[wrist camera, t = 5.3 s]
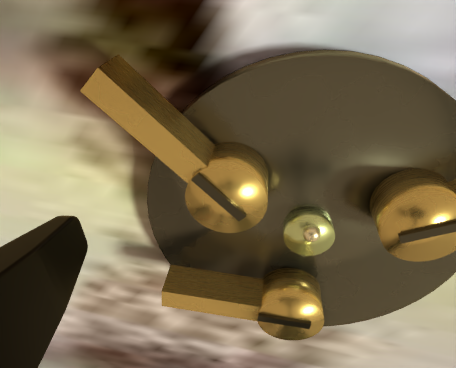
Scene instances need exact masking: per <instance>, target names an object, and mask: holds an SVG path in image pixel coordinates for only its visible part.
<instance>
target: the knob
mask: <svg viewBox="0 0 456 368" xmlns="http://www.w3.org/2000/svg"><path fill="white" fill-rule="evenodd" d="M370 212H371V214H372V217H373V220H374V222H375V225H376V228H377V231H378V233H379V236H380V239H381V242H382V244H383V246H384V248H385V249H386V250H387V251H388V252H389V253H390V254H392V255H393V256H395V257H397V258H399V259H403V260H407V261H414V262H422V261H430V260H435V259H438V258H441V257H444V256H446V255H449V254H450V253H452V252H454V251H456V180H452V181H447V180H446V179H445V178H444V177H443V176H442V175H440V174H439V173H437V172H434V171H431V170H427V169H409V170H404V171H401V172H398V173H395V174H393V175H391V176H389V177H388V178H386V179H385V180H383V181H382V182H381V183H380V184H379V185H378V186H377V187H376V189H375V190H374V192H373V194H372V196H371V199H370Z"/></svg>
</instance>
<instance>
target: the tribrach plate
mask: <svg viewBox="0 0 456 368" xmlns="http://www.w3.org/2000/svg"><path fill="white" fill-rule="evenodd" d="M181 114H182V115H183V116H184V117H186V118H187V119H188V120H189V121H190V122H191V123H192V124H193V125H194V126H195V127H196V128H197V129H198V130H199V131H200V132H202V133H203V134H204V135H205V136H206V137H207V138H208V139H209V140H210V141H211V142H212V143H213V144H214V145H215V144H217V143H221V142H237V143H241V144H244V145H247V146H249V147H251V148H252V149H254V150H255V151H256V152H257V153H259V154H260V156H261V157H262V158H263V160H264V161H265V163H266V165H267V168H268V204H267V210H266V213H265V215H264V217H263V218H262V219H261V221H260V222H259V223H258V224H256V225H255V226H254V227H252V228H250V229H248V230H245V231H242V232H237V233H222V232H217V231H214V230H211V229H209V228H207V227H205V226H203V225H202V224H200V223H199V222H198V221H197V220H195V219H194V217H193V216H192V215H191V214H190V212H189V210H188V208H187V205H186V201H185V192H186V188H187V185H188V183H187V182H185V181H184V180H183V179H182V178H181V177H180V176H178V175H177V174H176V173H175V172H174V171H173V170H172V169H170V168H169V167H168V166H167V165H166V164H165V163H163V162H162V161H161V160H160V159H159V158H158V157H155V159H154V162H153V165H152V167H151V172H150V177H149V182H148V194H147V204H148V213H149V219H150V223H151V227H152V230H153V234H154V236H155V238H156V240H157V243H158V245H159V247H160V249H161V251H162V252H163V254H164V255H165V257H166V259H167V260H168V262H169V263H170V264H171V265H177V266H183V267H190V268H196V269H202V270H209V271H215V272H222V273H228V274H234V275H241V276H247V277H253V278H260V279H262V278H263V277H264V276H265V275H266V274H268V273H270V272H271V271H274V270H277V269H282V268H295V269H300V270H303V271H305V272H308V273H309V274H311V275H312V276H314V277H315V278H316V280H317V281H318V283H319V285H320V292H321V300H322V308H323V315H324V325H323V326H335V325H343V324H350V323H355V322H360V321H365V320H369V319H373V318H376V317H380V316H383V315H386V314H388V313H391V312H394V311H396V310H399V309H401V308H403V307H405V306H408V305H410V304H412V303H414V302H416V301H418V300H419V299H421V298H423V297H424V296H426V295H427V294H429V293H431V292H432V291H434V290H435V289H436V288H438V287H439V286H440V285H442V284H443V283H444V282H445V281H447V280H448V279H449V278H450V277H451V276H452V275H453V274H454V273H455V272H456V251H454V252H452V253H450V254H449V255H446V256H444V257H441V258H438V259H435V260H430V261H422V262H414V261H407V260H403V259H399V258H397V257H395V256H393V255H392V254H390V253H389V252H388V251H387V250H386V249H385V248H384V246H383V244H382V242H381V239H380V236H379V233H378V231H377V228H376V225H375V222H374V220H373V217H372V214H371V212H370V199H371V196H372V194H373V192H374V190H375V189H376V187H377V186H378V185H379V184H380V183H381V182H382V181H383V180H385V179H386V178H388V177H389V176H391V175H393V174H395V173H398V172H401V171H404V170H409V169H427V170H431V171H434V172H437V173H439V174H440V175H442V176H443V177H444V178H445V179H446V180H447V181H452V180H456V100H454V99H453V98H452V97H451V96H450V95H448V94H447V93H446V92H445V91H443V90H442V89H441V88H439V87H438V86H437V85H436V84H434V83H433V82H432V81H430V80H429V79H428V78H426V77H425V76H423V75H421V74H419V73H417V72H415V71H414V70H412V69H410V68H408V67H406V66H404V65H401V64H399V63H396V62H393V61H390V60H387V59H385V58H382V57H379V56H374V55H369V54H364V53H359V52H354V51H340V50H313V51H299V52H293V53H289V54H284V55H279V56H274V57H270V58H267V59H264V60H261V61H258V62H256V63H253V64H250V65H247V66H245V67H243V68H241V69H239V70H237V71H235V72H233V73H231V74H229V75H227V76H225V77H223V78H222V79H220V80H219V81H217V82H216V83H214V84H213V85H212V86H210V87H209V88H207V89H206V90H204V91H203V92H202V93H201V94H200V95H199V96H198V97H197V98H196V99H195V100H193V101H192V102H191V103H190V104H189V105H188V106H187V107H186V108H185V110H184V111H183V112H182V113H181Z"/></svg>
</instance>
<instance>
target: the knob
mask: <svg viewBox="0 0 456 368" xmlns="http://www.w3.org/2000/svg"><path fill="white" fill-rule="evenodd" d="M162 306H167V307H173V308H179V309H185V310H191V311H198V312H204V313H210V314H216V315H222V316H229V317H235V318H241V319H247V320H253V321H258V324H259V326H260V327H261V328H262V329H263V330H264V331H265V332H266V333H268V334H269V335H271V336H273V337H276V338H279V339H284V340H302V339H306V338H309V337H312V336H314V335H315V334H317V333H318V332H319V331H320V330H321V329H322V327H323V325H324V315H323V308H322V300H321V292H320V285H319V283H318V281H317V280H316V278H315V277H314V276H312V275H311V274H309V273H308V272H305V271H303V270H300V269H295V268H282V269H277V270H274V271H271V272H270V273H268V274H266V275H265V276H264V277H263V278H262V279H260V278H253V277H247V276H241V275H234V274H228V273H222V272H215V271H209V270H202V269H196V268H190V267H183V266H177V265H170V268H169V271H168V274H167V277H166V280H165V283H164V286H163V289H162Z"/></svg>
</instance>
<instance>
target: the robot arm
mask: <svg viewBox="0 0 456 368" xmlns="http://www.w3.org/2000/svg"><path fill="white" fill-rule="evenodd" d="M87 248H88V245H87V240H86V238H85V235H84V232H83V229H82V227H81V224H80V221H79V219H78V218H77V217H75V216H57V217H55V218H53V219H52V220H50V221H48V222H46V223H44V224H42V225H40V226H39V227H37V228H35V229H33V230H31V231H29V232H27V233H26V234H24V235H22V236H20V237H18V238H16V239H15V240H13V241H11V242H9V243H7V244H5V245H3V246H2V247H0V368H38V366H39V364H40V362H41V360H42V358H43V356H44V354H45V352H46V350H47V348H48V346H49V344H50V342H51V339H52V337H53V335H54V333H55V331H56V329H57V327H58V325H59V323H60V321H61V319H62V317H63V314H64V312H65V310H66V307H67V305H68V302H69V300H70V297H71V294H72V292H73V289H74V286H75V283H76V281H77V278H78V275H79V272H80V270H81V267H82V264H83V261H84V259H85V256H86V253H87Z"/></svg>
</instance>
